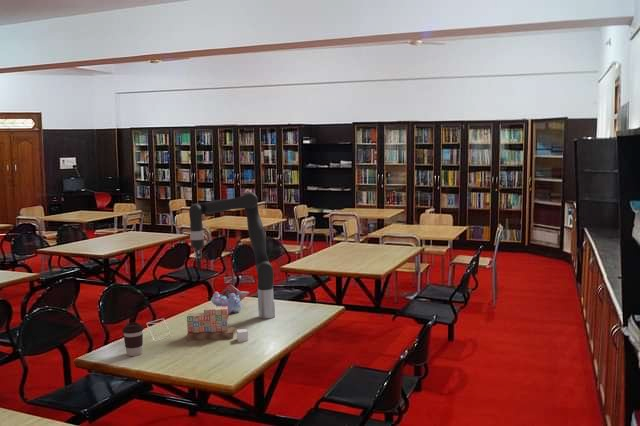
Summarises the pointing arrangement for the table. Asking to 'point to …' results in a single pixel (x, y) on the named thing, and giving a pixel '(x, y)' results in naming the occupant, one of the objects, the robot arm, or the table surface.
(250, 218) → the robot arm
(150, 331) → the geometric polyhedron
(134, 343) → the coffee cup
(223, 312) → the stack of blocks
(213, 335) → the walnut plinth
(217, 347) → the table surface
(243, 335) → the pale grey cube
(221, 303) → the lumpy periwinkle toy figure
